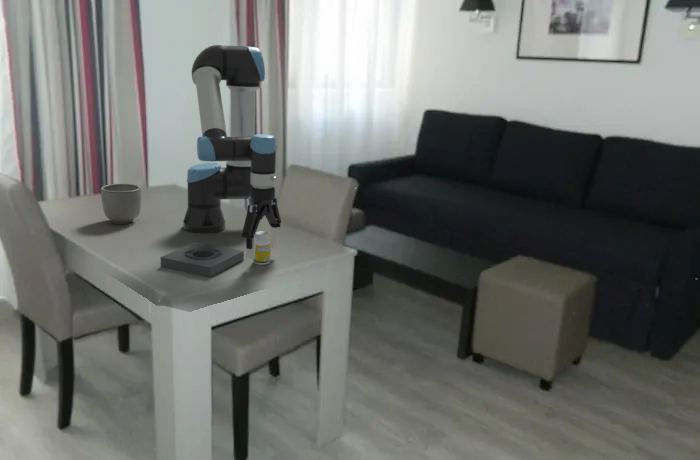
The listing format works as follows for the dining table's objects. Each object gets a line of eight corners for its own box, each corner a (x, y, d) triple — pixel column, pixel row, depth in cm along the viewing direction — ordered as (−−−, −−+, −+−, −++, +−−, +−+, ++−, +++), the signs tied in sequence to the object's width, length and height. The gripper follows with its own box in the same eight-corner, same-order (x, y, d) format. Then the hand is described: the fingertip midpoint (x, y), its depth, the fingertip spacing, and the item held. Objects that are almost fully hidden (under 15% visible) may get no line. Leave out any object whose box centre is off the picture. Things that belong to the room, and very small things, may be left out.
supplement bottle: (253, 259, 205) (253, 230, 203) (270, 259, 206) (271, 230, 203) (252, 265, 200) (252, 235, 197) (270, 265, 201) (270, 235, 198)
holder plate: (160, 266, 195) (160, 257, 194) (196, 250, 211) (196, 241, 210) (210, 277, 188) (210, 267, 187) (243, 259, 204) (243, 250, 204)
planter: (94, 223, 234) (92, 188, 230) (120, 214, 246) (119, 181, 242) (124, 229, 229) (123, 193, 225) (150, 220, 241) (149, 186, 238)
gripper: (252, 195, 184) (251, 265, 190) (292, 180, 206) (290, 244, 212) (229, 191, 186) (229, 261, 192) (272, 177, 209) (271, 240, 214)
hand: (261, 252), depth 202 cm, fingers open, 13 cm apart
